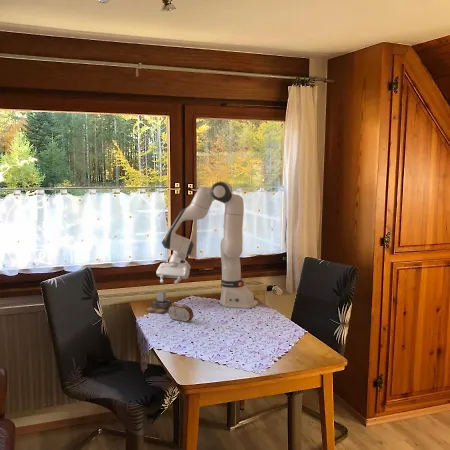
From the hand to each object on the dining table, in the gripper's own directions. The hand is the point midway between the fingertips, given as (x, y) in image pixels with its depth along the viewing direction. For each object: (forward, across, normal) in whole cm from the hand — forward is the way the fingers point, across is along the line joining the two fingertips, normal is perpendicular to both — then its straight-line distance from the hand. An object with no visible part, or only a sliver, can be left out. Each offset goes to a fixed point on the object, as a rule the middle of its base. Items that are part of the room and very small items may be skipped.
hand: (168, 283), depth 283 cm
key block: (+14, 0, +3) cm, 14 cm away
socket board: (+15, 0, +4) cm, 15 cm away
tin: (+25, +19, -6) cm, 32 cm away
